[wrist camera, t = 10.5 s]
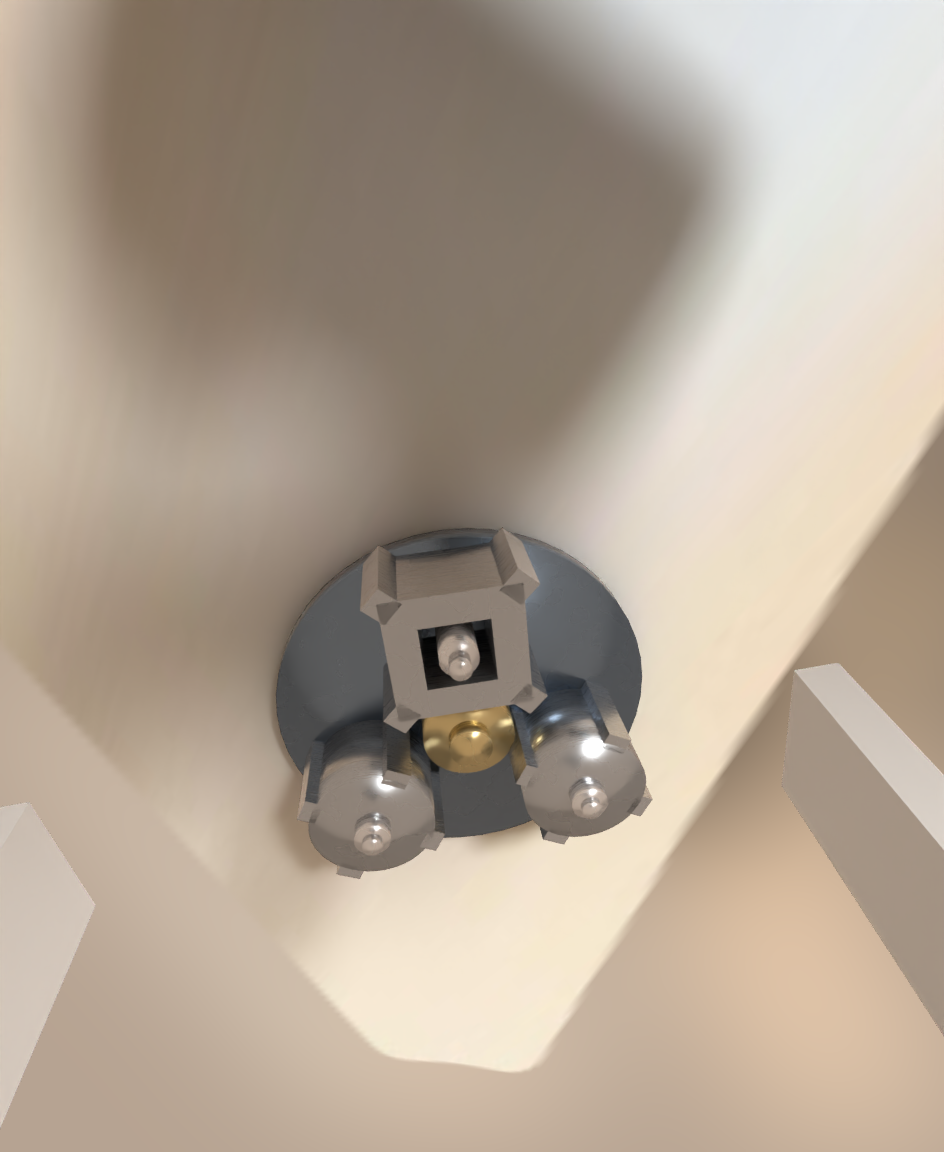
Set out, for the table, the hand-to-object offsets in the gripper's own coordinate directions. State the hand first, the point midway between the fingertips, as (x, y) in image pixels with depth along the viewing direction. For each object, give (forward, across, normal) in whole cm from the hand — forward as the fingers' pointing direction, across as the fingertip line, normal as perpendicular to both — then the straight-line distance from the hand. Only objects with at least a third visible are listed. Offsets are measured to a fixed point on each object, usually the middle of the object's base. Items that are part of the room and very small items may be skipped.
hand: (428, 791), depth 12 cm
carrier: (+25, 0, -18) cm, 31 cm away
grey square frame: (+24, 0, -11) cm, 26 cm away
